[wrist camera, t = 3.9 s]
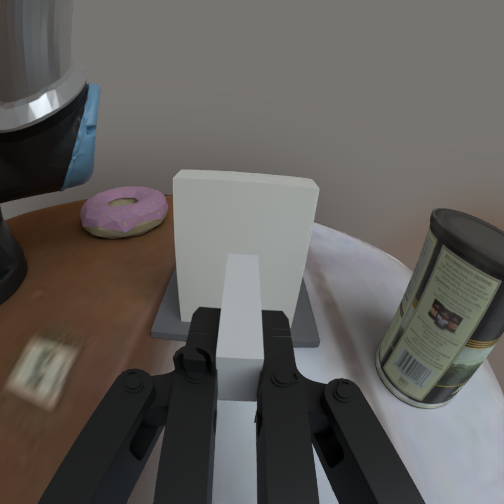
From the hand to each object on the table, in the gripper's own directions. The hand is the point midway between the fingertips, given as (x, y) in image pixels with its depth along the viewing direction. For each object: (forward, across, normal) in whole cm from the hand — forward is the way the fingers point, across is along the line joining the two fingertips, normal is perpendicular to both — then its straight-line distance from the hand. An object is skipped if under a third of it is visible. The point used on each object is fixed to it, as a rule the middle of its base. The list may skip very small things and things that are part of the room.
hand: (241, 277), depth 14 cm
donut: (+29, -20, -11) cm, 37 cm away
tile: (+8, 0, -10) cm, 12 cm away
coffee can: (+1, +18, -11) cm, 21 cm away
